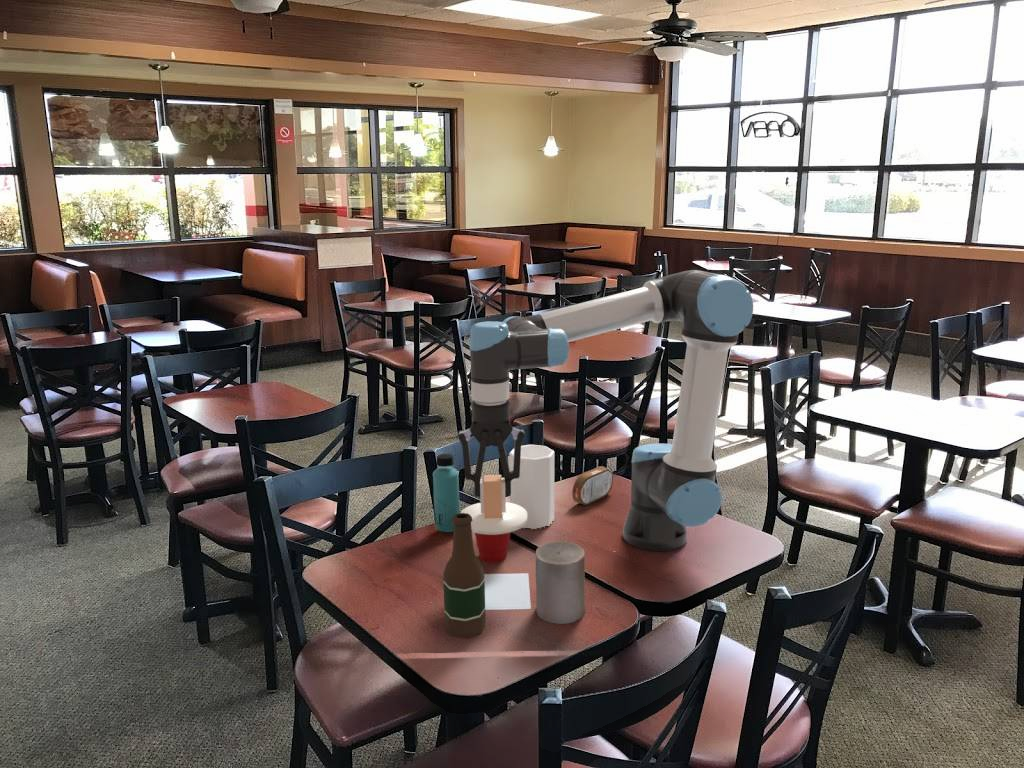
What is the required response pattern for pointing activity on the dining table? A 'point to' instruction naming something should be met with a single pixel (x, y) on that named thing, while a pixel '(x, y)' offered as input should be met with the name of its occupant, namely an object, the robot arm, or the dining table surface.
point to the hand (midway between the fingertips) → (493, 509)
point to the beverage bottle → (445, 493)
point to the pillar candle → (560, 582)
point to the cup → (534, 485)
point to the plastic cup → (492, 546)
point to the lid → (495, 511)
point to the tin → (592, 485)
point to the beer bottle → (464, 584)
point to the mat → (507, 591)
